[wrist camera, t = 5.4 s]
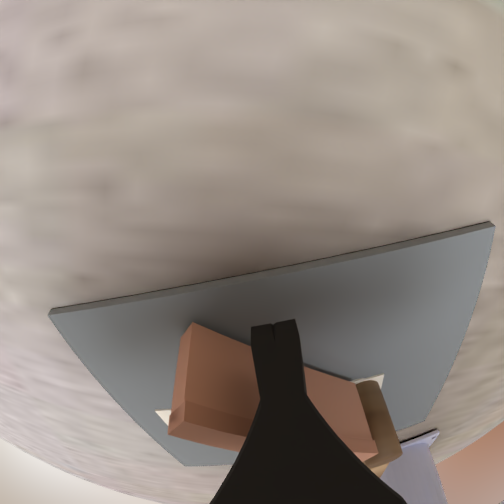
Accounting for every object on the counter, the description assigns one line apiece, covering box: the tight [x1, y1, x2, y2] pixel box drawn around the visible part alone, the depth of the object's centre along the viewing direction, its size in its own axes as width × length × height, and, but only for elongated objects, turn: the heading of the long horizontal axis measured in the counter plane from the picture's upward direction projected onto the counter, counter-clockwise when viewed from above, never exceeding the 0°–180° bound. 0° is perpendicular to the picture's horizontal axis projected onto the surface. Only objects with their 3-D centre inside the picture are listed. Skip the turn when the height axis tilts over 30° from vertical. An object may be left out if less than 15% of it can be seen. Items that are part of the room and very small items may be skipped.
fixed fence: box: [356, 380, 403, 478], centre depth 15 cm, size 10×2×5 cm, turn 11°
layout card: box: [48, 222, 495, 466], centre depth 15 cm, size 17×19×1 cm
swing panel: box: [168, 322, 378, 462], centre depth 11 cm, size 9×1×4 cm, turn 56°
